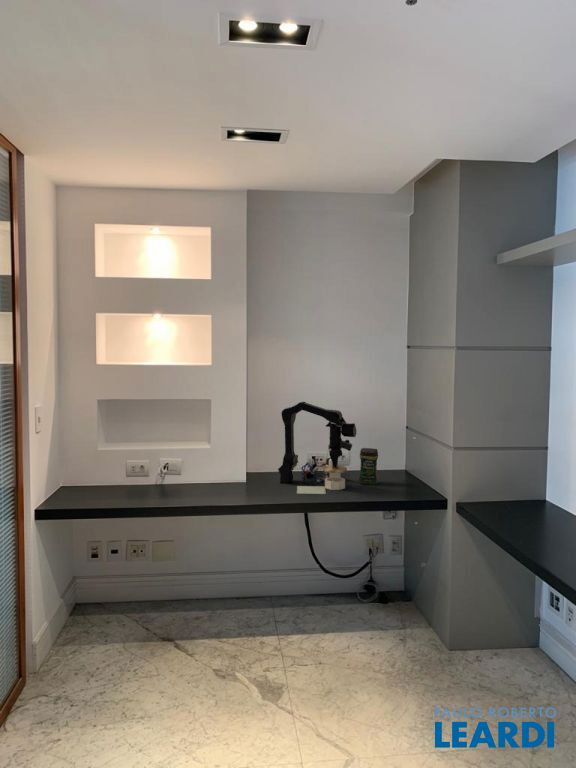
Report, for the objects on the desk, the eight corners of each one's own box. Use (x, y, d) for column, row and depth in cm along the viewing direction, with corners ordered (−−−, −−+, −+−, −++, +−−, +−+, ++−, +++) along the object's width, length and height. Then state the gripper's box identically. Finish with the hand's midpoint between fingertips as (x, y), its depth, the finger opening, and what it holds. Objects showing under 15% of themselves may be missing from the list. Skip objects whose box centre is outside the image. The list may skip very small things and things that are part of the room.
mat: (296, 494, 280) (296, 493, 280) (297, 487, 294) (297, 486, 294) (325, 494, 280) (325, 493, 280) (324, 487, 294) (324, 486, 294)
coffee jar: (358, 484, 300) (358, 449, 299) (360, 480, 308) (360, 446, 307) (376, 485, 298) (377, 450, 296) (378, 482, 305) (379, 447, 304)
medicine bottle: (322, 479, 310) (322, 457, 309) (334, 478, 313) (334, 456, 312) (329, 482, 304) (329, 460, 303) (340, 481, 307) (341, 459, 306)
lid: (323, 472, 286) (323, 462, 286) (322, 467, 298) (322, 457, 298) (347, 473, 286) (347, 462, 285) (346, 467, 298) (346, 457, 297)
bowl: (325, 490, 288) (325, 481, 287) (324, 485, 298) (324, 477, 297) (345, 490, 287) (345, 482, 287) (344, 485, 297) (344, 477, 297)
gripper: (352, 439, 281) (352, 470, 282) (350, 433, 300) (349, 462, 301) (329, 438, 281) (329, 470, 283) (328, 432, 300) (328, 462, 301)
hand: (334, 466), depth 292 cm, fingers closed on lid, 3 cm apart
